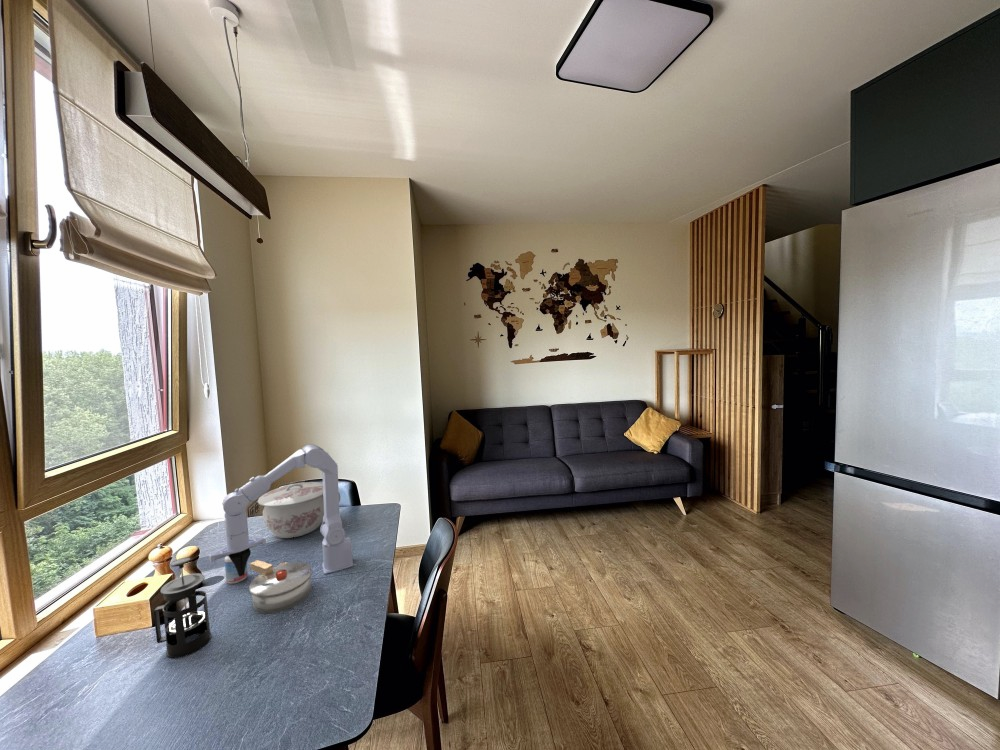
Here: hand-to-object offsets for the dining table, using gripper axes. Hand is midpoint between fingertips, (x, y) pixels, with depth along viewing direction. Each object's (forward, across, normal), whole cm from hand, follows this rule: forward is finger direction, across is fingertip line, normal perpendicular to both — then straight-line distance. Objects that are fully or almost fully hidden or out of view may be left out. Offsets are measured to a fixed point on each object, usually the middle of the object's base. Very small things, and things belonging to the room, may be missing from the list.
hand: (241, 574), depth 122 cm
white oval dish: (+8, -10, +6) cm, 14 cm away
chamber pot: (+8, -28, -37) cm, 47 cm away
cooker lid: (+2, -8, +6) cm, 10 cm away
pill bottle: (+8, -1, -14) cm, 16 cm away
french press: (+8, +15, +12) cm, 21 cm away
